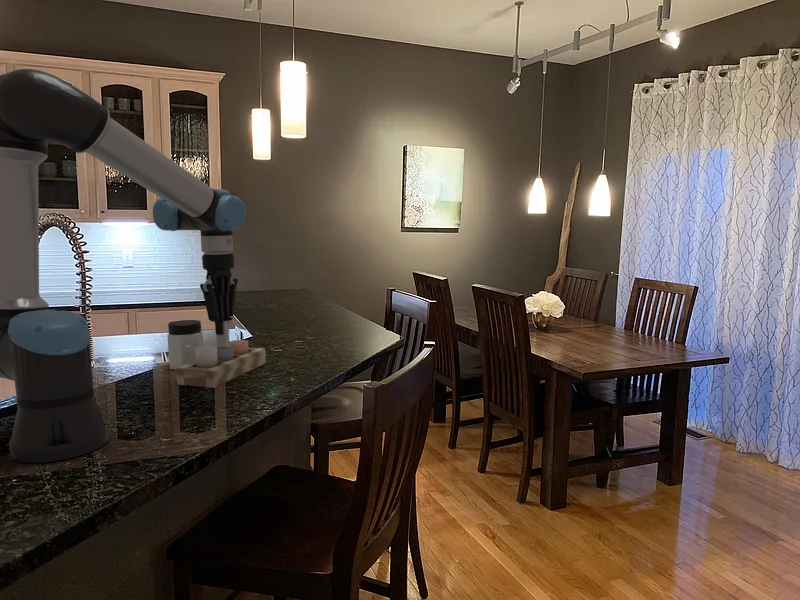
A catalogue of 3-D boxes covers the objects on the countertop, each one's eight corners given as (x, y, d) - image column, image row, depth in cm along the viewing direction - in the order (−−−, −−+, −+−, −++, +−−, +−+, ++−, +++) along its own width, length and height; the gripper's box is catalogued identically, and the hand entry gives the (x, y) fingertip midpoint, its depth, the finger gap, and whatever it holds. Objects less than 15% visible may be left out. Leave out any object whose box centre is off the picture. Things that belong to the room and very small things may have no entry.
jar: (173, 373, 154) (170, 326, 152) (166, 366, 161) (163, 322, 159) (209, 367, 159) (206, 322, 157) (200, 361, 166) (197, 318, 164)
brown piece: (242, 363, 156) (241, 344, 156) (225, 362, 158) (224, 343, 157) (252, 358, 161) (251, 340, 160) (236, 357, 163) (235, 339, 162)
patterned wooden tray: (213, 387, 140) (212, 371, 140) (177, 384, 143) (176, 368, 143) (266, 362, 163) (265, 348, 162) (233, 360, 166) (233, 346, 165)
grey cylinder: (227, 370, 150) (226, 350, 149) (209, 368, 151) (208, 349, 151) (238, 365, 155) (237, 346, 154) (221, 363, 156) (220, 344, 155)
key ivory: (209, 370, 143) (208, 350, 142) (192, 369, 144) (190, 349, 144) (222, 365, 148) (221, 345, 147) (204, 364, 149) (203, 344, 148)
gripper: (215, 255, 142) (221, 353, 145) (245, 251, 154) (250, 342, 157) (188, 254, 144) (194, 351, 147) (219, 251, 156) (225, 340, 159)
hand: (223, 346), depth 152 cm, fingers closed
